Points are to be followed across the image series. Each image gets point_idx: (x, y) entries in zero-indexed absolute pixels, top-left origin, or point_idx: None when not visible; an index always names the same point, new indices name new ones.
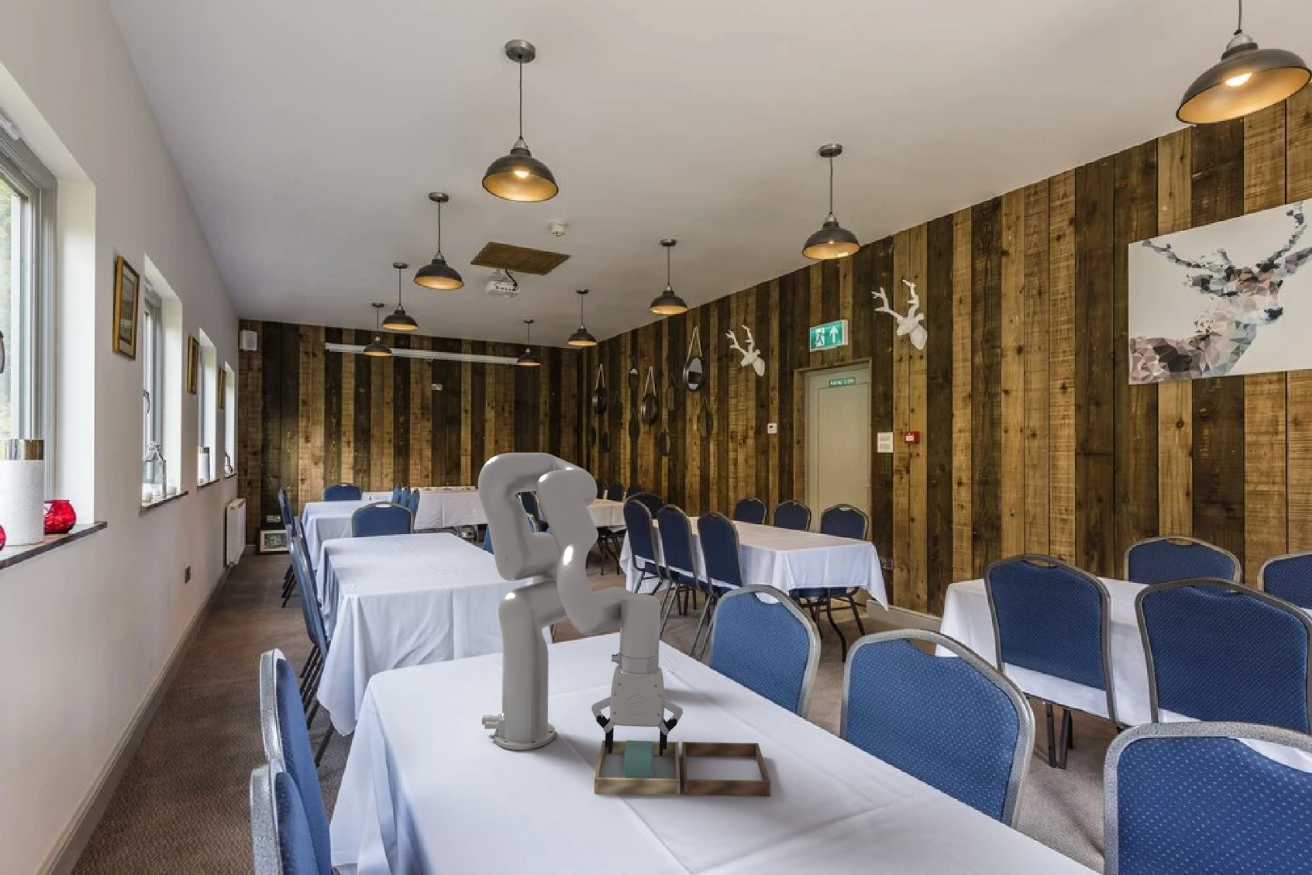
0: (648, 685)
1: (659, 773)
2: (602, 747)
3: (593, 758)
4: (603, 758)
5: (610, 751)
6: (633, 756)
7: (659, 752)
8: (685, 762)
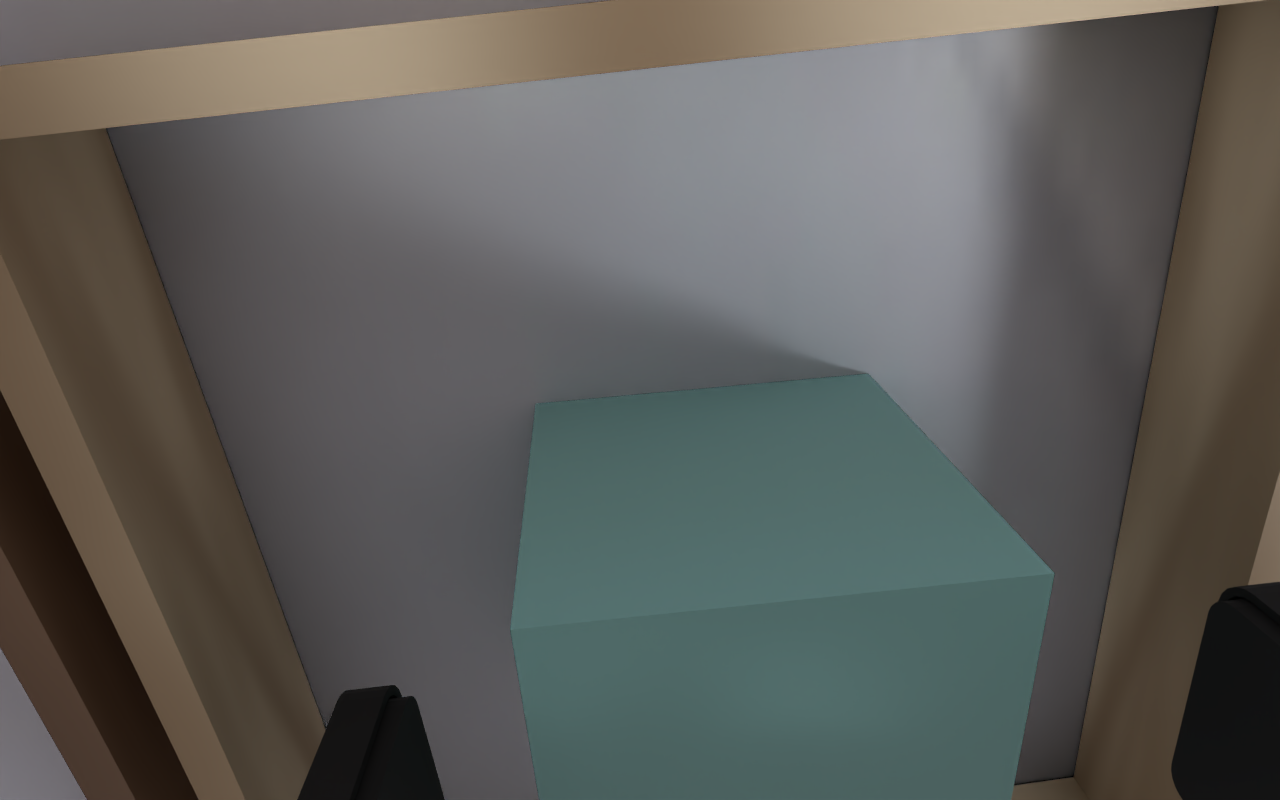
0: None
1: (465, 553)
2: None
3: None
4: (1132, 672)
5: (1270, 606)
6: (852, 547)
7: (395, 728)
8: (34, 673)
